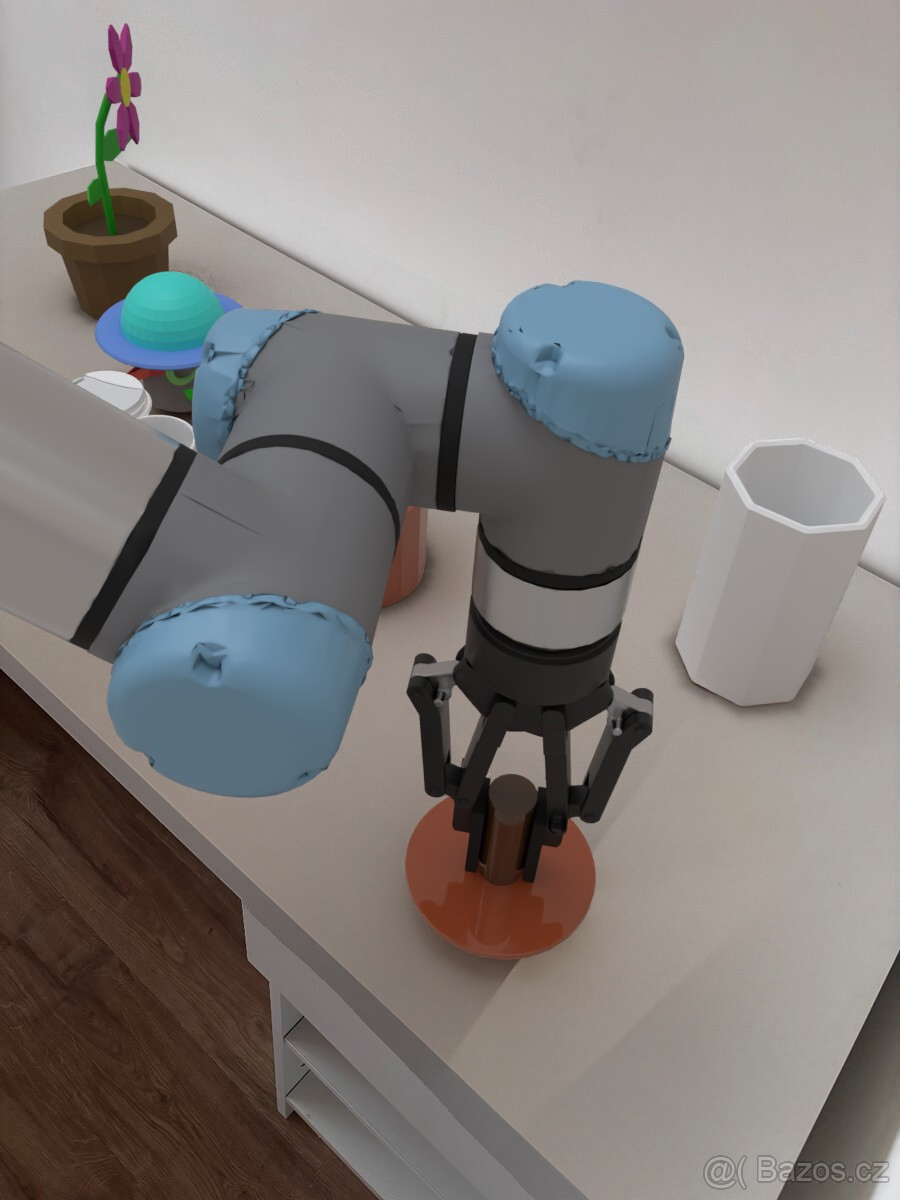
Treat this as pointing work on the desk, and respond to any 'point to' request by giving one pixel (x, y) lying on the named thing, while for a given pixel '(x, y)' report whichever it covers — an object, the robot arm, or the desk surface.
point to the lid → (499, 878)
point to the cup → (775, 567)
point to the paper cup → (118, 391)
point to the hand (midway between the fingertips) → (501, 858)
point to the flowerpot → (112, 207)
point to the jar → (408, 557)
